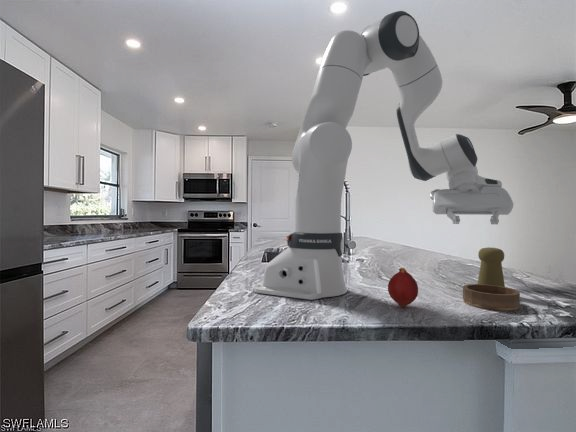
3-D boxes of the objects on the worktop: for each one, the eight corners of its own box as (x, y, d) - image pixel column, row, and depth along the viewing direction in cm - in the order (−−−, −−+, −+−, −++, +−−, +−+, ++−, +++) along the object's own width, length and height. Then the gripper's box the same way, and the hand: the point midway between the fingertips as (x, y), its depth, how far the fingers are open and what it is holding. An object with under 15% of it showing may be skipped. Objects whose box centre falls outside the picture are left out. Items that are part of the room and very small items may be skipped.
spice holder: (470, 308, 65) (470, 293, 65) (458, 296, 74) (458, 282, 74) (528, 312, 62) (528, 296, 62) (508, 299, 72) (508, 285, 72)
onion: (393, 301, 70) (393, 264, 70) (421, 306, 66) (421, 267, 66) (383, 307, 65) (384, 268, 65) (413, 313, 62) (414, 271, 62)
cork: (511, 298, 73) (511, 249, 73) (481, 296, 74) (482, 248, 74) (499, 292, 79) (499, 246, 79) (472, 290, 80) (472, 246, 80)
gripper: (430, 182, 98) (435, 214, 89) (507, 180, 93) (521, 214, 84) (427, 197, 103) (433, 229, 93) (501, 197, 97) (514, 231, 88)
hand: (475, 222), depth 88 cm, fingers open, 8 cm apart
